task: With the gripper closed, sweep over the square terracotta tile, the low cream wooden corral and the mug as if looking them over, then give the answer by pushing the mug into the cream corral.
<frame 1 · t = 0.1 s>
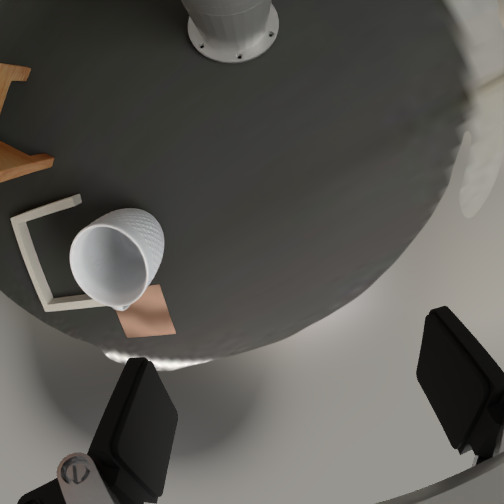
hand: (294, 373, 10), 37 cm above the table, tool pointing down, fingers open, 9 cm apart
mug: (140, 239, 47), on the table
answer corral: (62, 255, 48), on the table
planter: (5, 138, 40), on the table
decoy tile: (141, 312, 52), on the table
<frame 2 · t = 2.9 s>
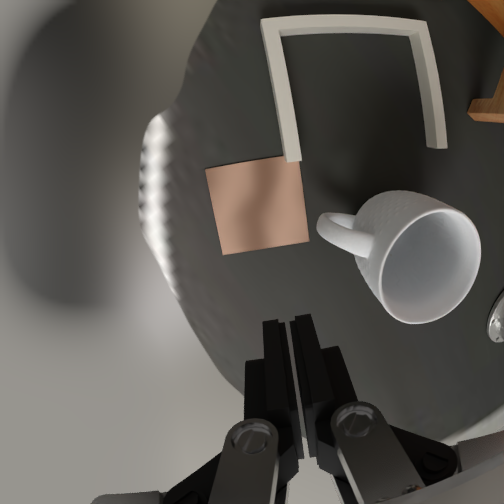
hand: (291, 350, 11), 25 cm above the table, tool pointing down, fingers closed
mug: (372, 222, 35), on the table
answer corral: (358, 85, 29), on the table
planter: (495, 49, 25), on the table
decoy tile: (258, 205, 34), on the table
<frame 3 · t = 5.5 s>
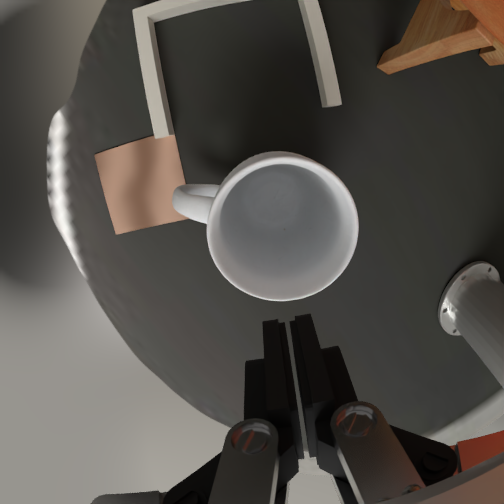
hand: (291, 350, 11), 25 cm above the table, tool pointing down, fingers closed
mug: (262, 194, 34), on the table
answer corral: (234, 53, 28), on the table
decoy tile: (142, 184, 33), on the table
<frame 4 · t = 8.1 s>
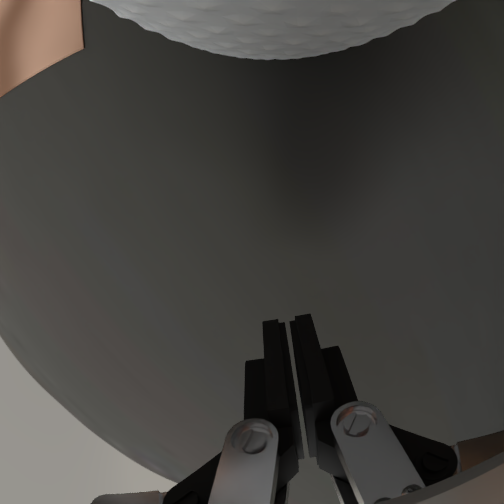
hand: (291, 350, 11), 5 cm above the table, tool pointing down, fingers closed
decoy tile: (14, 18, 10), on the table
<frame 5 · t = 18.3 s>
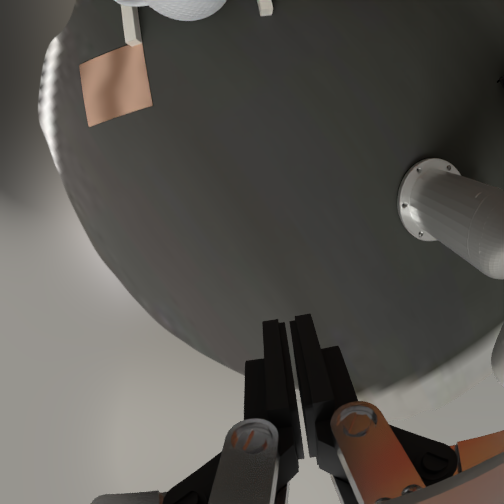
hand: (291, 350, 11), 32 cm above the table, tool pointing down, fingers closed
mug: (188, 0, 31), on the table
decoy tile: (113, 83, 35), on the table
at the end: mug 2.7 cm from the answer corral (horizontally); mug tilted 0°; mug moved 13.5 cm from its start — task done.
